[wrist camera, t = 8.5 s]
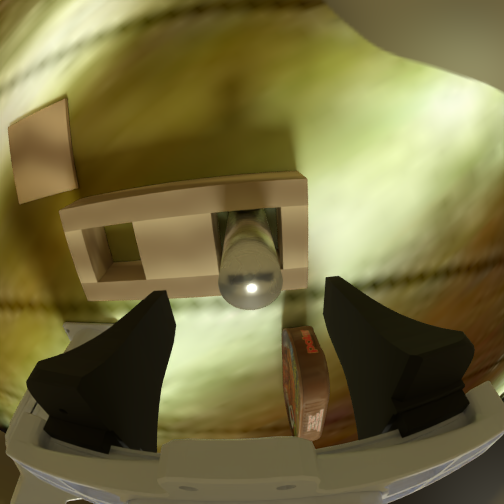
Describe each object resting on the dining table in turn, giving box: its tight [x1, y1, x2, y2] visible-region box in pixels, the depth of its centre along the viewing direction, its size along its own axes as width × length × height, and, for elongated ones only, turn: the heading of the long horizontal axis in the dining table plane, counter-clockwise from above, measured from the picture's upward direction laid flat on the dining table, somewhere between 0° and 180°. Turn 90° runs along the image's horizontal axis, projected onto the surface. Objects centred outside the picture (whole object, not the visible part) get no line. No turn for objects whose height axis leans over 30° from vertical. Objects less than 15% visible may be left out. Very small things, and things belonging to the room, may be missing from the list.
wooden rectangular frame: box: [59, 171, 308, 301], centre depth 20 cm, size 8×18×4 cm, turn 94°
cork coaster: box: [8, 99, 78, 204], centre depth 18 cm, size 8×8×1 cm
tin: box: [282, 326, 330, 441], centre depth 25 cm, size 15×3×8 cm, turn 5°
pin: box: [218, 208, 283, 310], centre depth 17 cm, size 3×3×10 cm
